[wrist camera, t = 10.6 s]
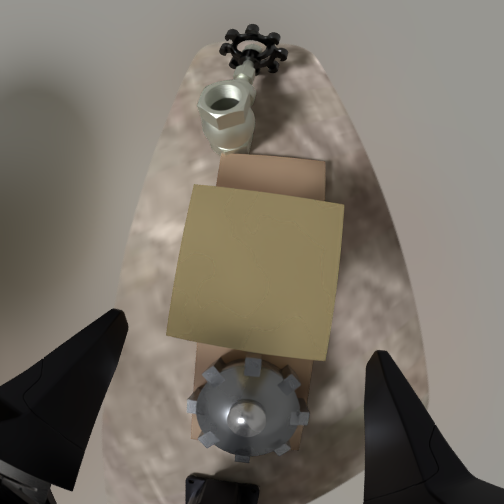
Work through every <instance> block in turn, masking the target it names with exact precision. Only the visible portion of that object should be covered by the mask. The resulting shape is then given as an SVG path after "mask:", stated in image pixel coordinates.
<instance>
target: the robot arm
mask: <svg viewBox="0 0 504 504" xmlns="http://www.w3.org/2000/svg"><path fill="white" fill-rule="evenodd" d="M127 332H128V323H127V320H126V317H125V314H124V312H123V311H122V310H119V309H111V310H110V311H108V312H107V313H105V314H104V315H102V316H101V317H100V318H98V319H97V320H95V321H94V322H92V323H91V324H90V325H88V326H87V327H85V328H84V329H83V330H81V331H80V332H78V333H77V334H76V335H74V336H73V337H71V338H70V339H69V340H67V341H66V342H64V343H63V344H62V345H60V346H59V347H58V348H56V349H55V350H53V351H52V352H51V353H49V354H48V355H47V356H46V357H44V359H41V360H40V361H38V362H37V363H36V364H34V365H33V366H32V367H30V368H29V369H28V370H26V371H24V372H23V373H21V374H19V375H18V376H16V377H15V378H13V379H11V380H10V381H8V382H6V383H5V384H3V385H1V386H0V504H57V503H56V501H55V499H54V496H53V494H52V492H51V489H50V487H51V484H53V485H56V486H58V487H61V488H64V489H66V490H69V491H73V489H74V486H75V482H76V479H77V476H78V472H79V469H80V466H81V462H82V459H83V456H84V453H85V449H86V447H87V444H88V441H89V438H90V435H91V432H92V429H93V427H94V424H95V421H96V418H97V416H98V413H99V410H100V408H101V405H102V402H103V400H104V397H105V395H106V392H107V390H108V387H109V385H110V382H111V380H112V377H113V375H114V372H115V370H116V367H117V365H118V362H119V358H120V355H121V352H122V348H123V345H124V342H125V339H126V335H127ZM364 420H365V481H364V502H363V504H504V489H503V488H500V487H498V486H495V485H493V484H490V483H487V482H485V481H482V480H480V479H478V478H476V477H475V476H473V475H472V474H471V473H470V472H469V471H468V470H467V468H466V467H465V466H464V464H463V463H462V462H461V460H460V459H459V458H458V457H457V455H456V454H455V452H454V451H453V450H452V448H451V447H450V446H449V444H448V443H447V441H446V440H445V438H444V437H443V435H442V434H441V432H440V431H439V429H438V428H437V426H436V425H435V423H434V421H433V420H432V418H431V416H430V415H429V413H428V412H427V410H426V408H425V407H424V405H423V404H422V402H421V401H420V399H419V398H418V396H417V395H416V393H415V391H414V390H413V388H412V387H411V385H410V384H409V382H408V381H407V379H406V378H405V376H404V375H403V374H402V372H401V371H400V369H399V368H398V366H397V365H396V363H395V362H394V360H393V359H392V357H391V356H390V355H389V353H388V352H387V351H385V350H376V351H375V352H374V354H373V355H372V357H371V358H370V360H369V361H368V363H367V365H366V379H365V397H364ZM190 480H193V481H194V482H192V481H190ZM252 489H256V490H252ZM259 490H260V489H259V486H257V485H251V484H241V483H233V482H226V481H219V480H213V479H206V478H201V477H195V476H188V477H187V478H186V504H257V503H258V497H259Z"/></svg>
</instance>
